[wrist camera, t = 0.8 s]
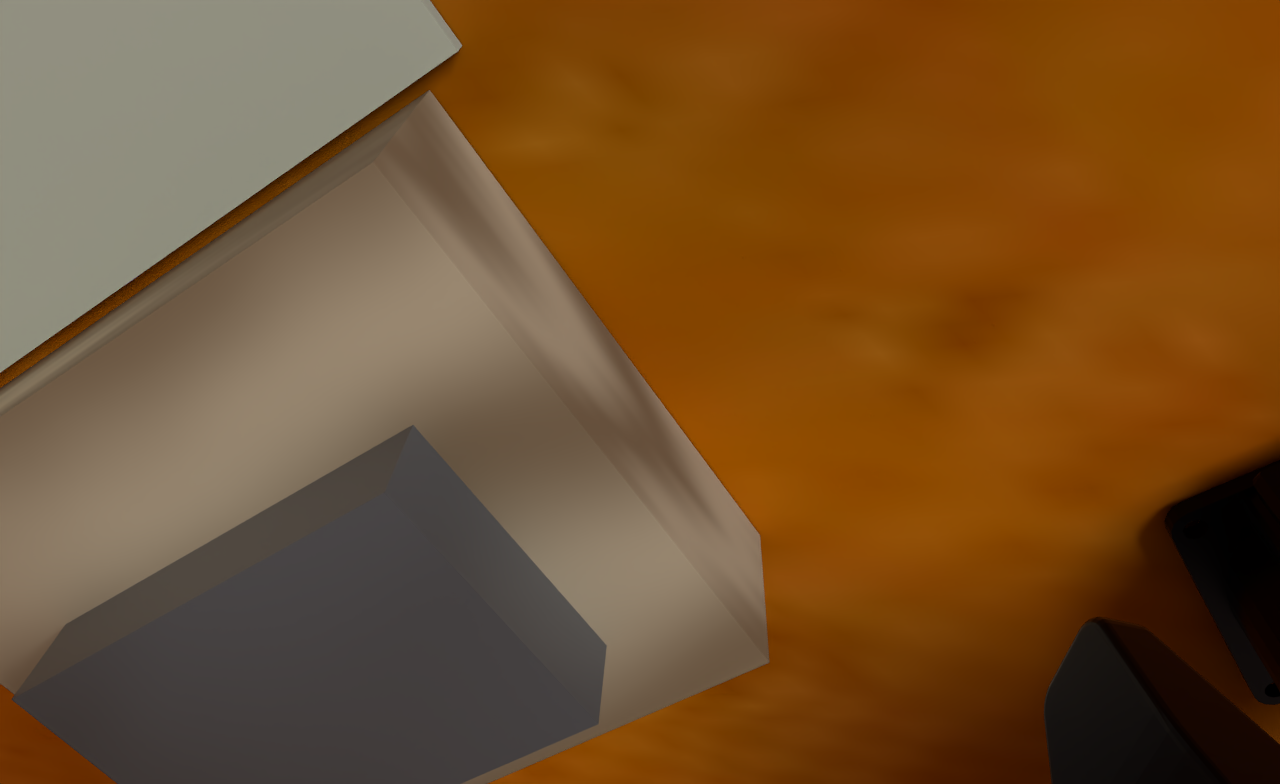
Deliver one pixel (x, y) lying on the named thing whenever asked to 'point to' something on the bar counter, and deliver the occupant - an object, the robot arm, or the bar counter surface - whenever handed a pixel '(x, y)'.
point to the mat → (169, 126)
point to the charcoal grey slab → (330, 645)
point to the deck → (378, 418)
